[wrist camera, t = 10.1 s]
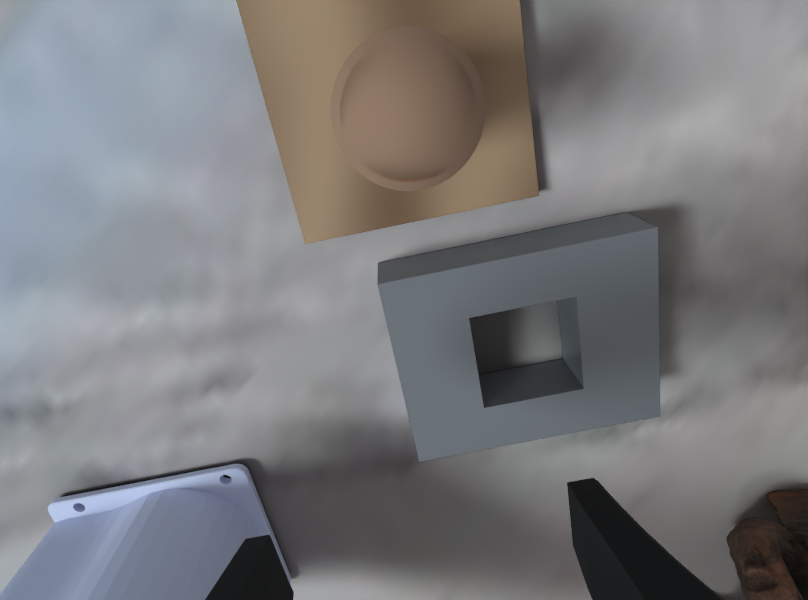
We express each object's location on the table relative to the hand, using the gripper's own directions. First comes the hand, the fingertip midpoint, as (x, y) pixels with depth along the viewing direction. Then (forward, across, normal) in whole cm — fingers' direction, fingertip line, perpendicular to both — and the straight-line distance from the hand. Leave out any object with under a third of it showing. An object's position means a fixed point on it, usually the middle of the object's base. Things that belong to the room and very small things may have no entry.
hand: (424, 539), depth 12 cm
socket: (+10, -4, 0) cm, 11 cm away
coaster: (+10, -2, -10) cm, 14 cm away
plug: (+10, -2, -9) cm, 13 cm away
